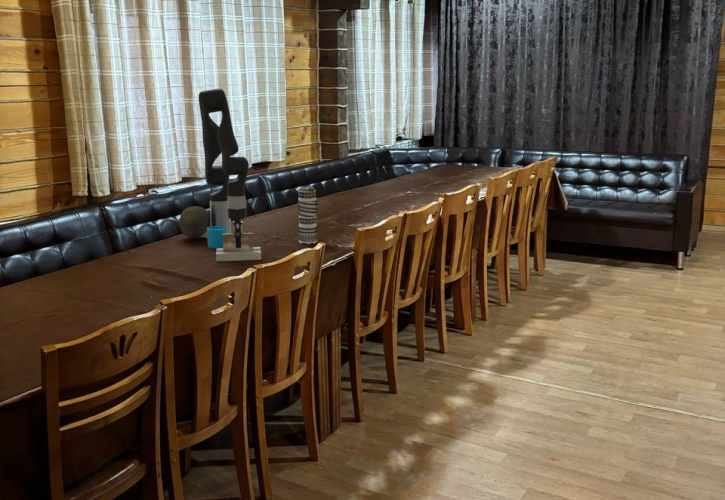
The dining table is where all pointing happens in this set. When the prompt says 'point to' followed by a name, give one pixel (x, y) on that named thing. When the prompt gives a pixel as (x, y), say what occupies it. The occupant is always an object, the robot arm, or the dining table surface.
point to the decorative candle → (307, 215)
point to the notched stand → (238, 255)
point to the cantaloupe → (194, 222)
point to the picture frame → (230, 243)
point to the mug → (215, 236)
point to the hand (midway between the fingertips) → (238, 245)
